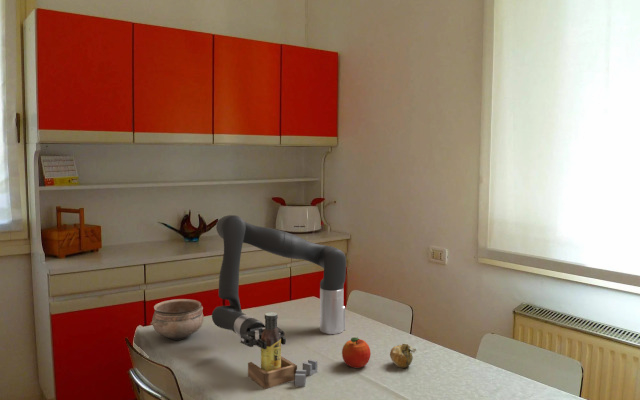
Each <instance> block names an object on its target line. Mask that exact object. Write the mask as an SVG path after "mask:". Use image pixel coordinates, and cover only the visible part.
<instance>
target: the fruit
mask: <svg viewBox="0 0 640 400" xmlns="http://www.w3.org/2000/svg"><path fill="white" fill-rule="evenodd" d="M371 354H372V353H371V349H370V346H369V344H368V343H367V342H366V341H365V340H363V339H362V338H361V339H360V338H359V337H358V336H357V337H351V338H350V340H347V341H346V342H345V343H344V345H343V347H342V349H341V355H342V356H341V357H342V359H343V362H344V364H346V365H347V366H349V367H350V368H354V369H355V368H357V369H358V368H359V369H360V368H363V367H365V366H366V365H367V364H368V363H369V361H370V359H371V356H372V355H371Z"/></svg>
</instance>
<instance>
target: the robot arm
mask: <svg viewBox="0 0 640 400" xmlns="http://www.w3.org/2000/svg"><path fill="white" fill-rule="evenodd" d="M215 229H216V232H217V234H218V235H219V237H220V238H221V239H223V255H222V256H223V257H222V261H221V262H222V263H221V266H220V270H219V278H218V297H219V298H220V299H222V300H225V301H226V300H227V301H228V303H229V305H220V306H219V305H218V306H216V307H215V308H214V309H213V311H212V312H211V319H212V321H213V323H214V325H215V326H217V328H221V329H225V330H228V331H232V332H233V333H235V334H237V336H239V337H240V343H241V344H243V345H245V346H247V347H249V348H254V346H255V347H259V348H260V349H261V348H262V349H267V343H266V342H265V341H263V340H262V339H261V336H262V333H263V331H264V329H265V323H263V321H260V320H259V319H256V318H255V317H253V316H251V315H248V314H246V313H244V312H243V311H242V308H241V307H242V306H241V303H240V302H241V301H240V296H239V288H240V286H239V283H240V280H239V279H240V266H241V264H240V263H241V257H242V250H243V244H247V245H251V246H253V247H255V248H258V249H260V250H262V251H265V252H268V253H270V254H273V255H276V256H280V257H282V258H288V259H294V260H302V261H303V260H304V261H307V262H310V263H313V264H314V265H317V266H320V267H321V268H322V269H323V278H322V279H321V280H320V282H319V332H321V333H323V334H328V335H336V334H340V333H342V332H344V331H346V306H345V305H344V288H345V287H344V285H345V283H346V277H347V276H346V275H347V257H346V255H345V253H344V251H342V250H341V249H339V248H337V247H335V246H331V245H324V244H319V243H314V242H311V241H309V240H307V239H304V238H303V237H300V236H297V235H296V234H294V233H290V232H286V231H283V230H279V229H276V228H271V227H265V226H258V225H254V224H251V223H248V222H246V221H245V220H244V219H243V218H242V217H241V216H239V215H234V214H232V215H231V214H230V215H228V214H227V215H225V216H222V217H221V218H220V219H219V220H218V221H217V222H216V226H215ZM277 328H278V331H279V334H280V337H281V346H284V345H286V343H287V338H286V336H285V331H284V330H283V329H281V328H280V327H278V326H277Z"/></svg>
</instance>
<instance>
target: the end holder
mask: <svg viewBox="0 0 640 400" xmlns="http://www.w3.org/2000/svg"><path fill="white" fill-rule="evenodd" d="M296 370H298V365H297V364H296V363H294V362H292V361H290V360H288V359H287V358H285V357H283V356H282V355H281V368H280V369H276V370H272V371H269V372H266V371H264V370H263V369H261V366H258V365H257V364H255V363H254V362H252V361H250V362H247V376H248V378H250V379H251V380H252V381H254V382H255V383H256V384H257V385H259V386H261V387H262V388H263V389H265V390H266V389H270V388H273V387H276V386H281V385H283V384H286V383H290V382H293V381H294V382H295V374H296Z"/></svg>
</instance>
